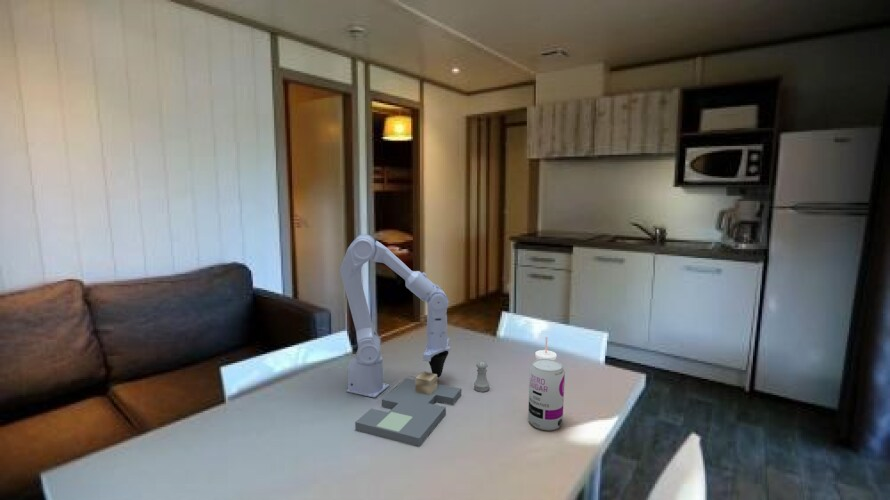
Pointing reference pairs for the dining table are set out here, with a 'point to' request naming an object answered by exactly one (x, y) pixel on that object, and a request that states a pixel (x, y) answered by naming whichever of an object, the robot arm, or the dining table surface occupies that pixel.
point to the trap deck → (408, 413)
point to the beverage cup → (545, 354)
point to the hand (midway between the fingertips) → (437, 376)
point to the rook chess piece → (481, 377)
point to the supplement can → (546, 394)
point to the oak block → (426, 383)
